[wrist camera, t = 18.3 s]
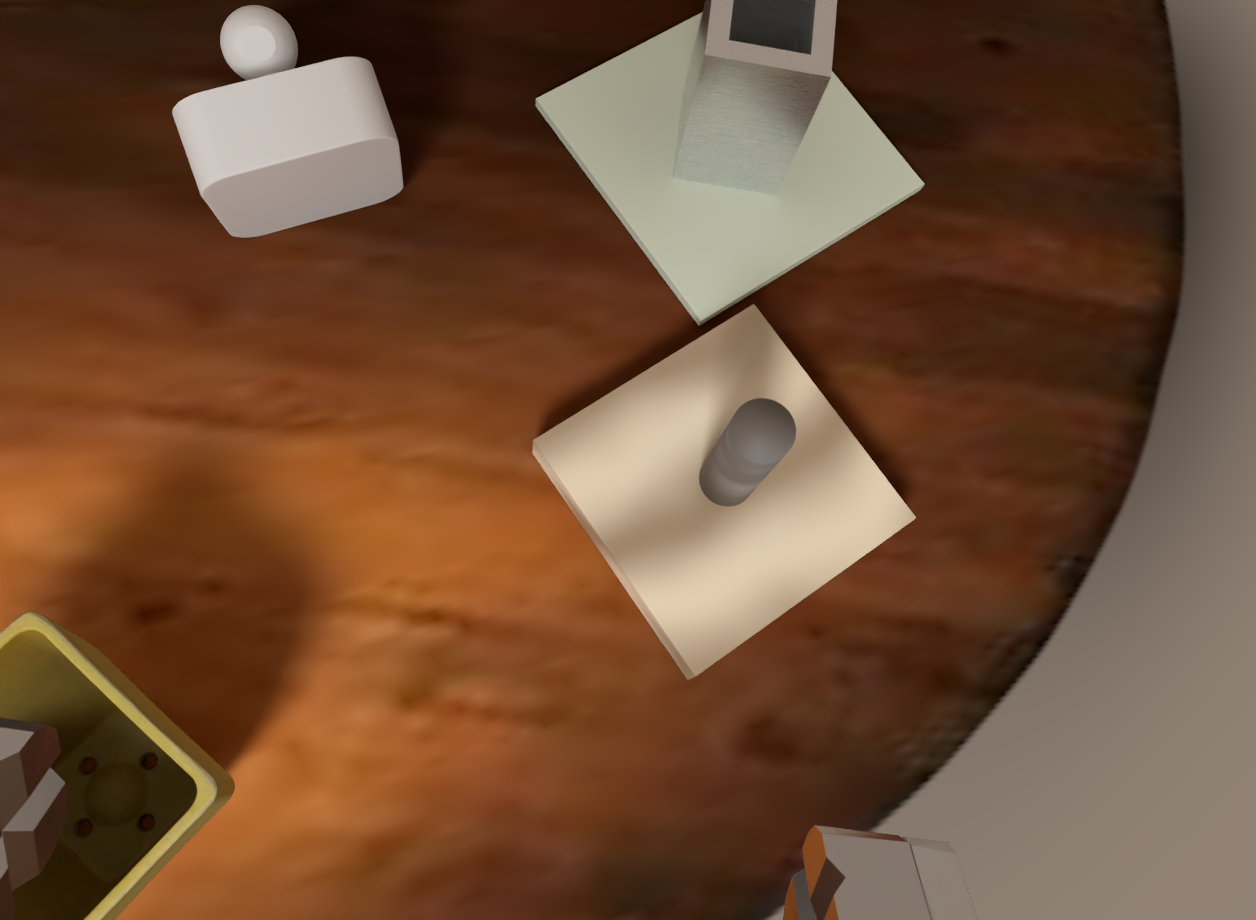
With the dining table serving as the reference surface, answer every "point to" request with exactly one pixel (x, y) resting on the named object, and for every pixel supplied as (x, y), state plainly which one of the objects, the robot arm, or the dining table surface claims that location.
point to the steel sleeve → (753, 90)
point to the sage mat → (709, 214)
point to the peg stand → (720, 488)
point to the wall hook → (287, 132)
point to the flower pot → (103, 773)
